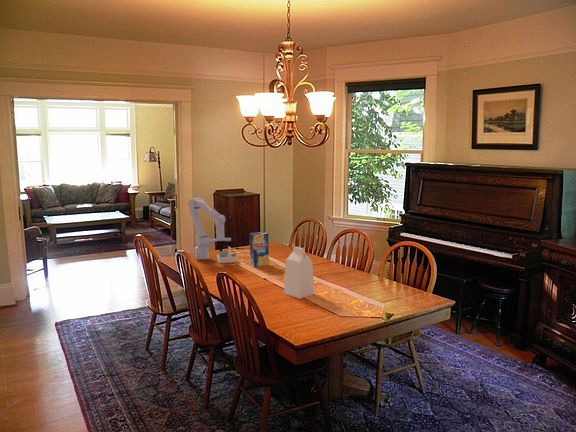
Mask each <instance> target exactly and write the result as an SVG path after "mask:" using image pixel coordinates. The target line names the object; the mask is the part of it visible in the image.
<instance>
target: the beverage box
mask: <svg viewBox="0 0 576 432" xmlns="http://www.w3.org/2000/svg"><path fill="white" fill-rule="evenodd" d="M269 254H270V253H269V233H268V232H266V231H260V232H259V231H257V232H250V233H249V265H250V266H251V267H253V268H257V267H263V266H269V264H270V263H269V262H270V261H269V260H270V259H269V258H270V257H269Z"/></svg>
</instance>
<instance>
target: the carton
mask: <svg viewBox="0 0 576 432" xmlns="http://www.w3.org/2000/svg"><path fill="white" fill-rule="evenodd" d="M216 260H217V262H218V264H229V263H237V255H235V254H234V253H228V256H227V257H219V254H216Z"/></svg>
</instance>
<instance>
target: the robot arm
mask: <svg viewBox="0 0 576 432" xmlns="http://www.w3.org/2000/svg"><path fill="white" fill-rule="evenodd" d="M187 205H188V208H189V212H190V216H191V220H192V223H193V226H194V230H195V232H196V235H195V236H194V239H195V241H194V242H195V245H196V246H195V247H194V258H195V260H196V261H199V260H200V261H201V260H210V257H209V245H210V243H216V244H217V246H218V249H219V250H218V251H219V253H220V252H223V248H224V246H225V243H226V242H232V237H225V223H226V220H227V219H226V215H224V214H220V212H218V211H217V210H216V209H215V208H211V207H210V206H209V205H208V204H207V203H206V202H205V199H203V197H196V198H195V197H194V198H190V199H189V200H188V203H187ZM200 209H203V210H204V211H205V212H207V214H208V215H207V216H209V217H210V218H211V219H212V220H213V222H214V224H215V225H214V226H215V234H216V236H215V237H216V238H210V237H209V235H208V233H206V232H205V230H204V228H203V227H204V226H203V223H202V220H201V217H200V214H199V211H200Z"/></svg>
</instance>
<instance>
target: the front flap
mask: <svg viewBox="0 0 576 432" xmlns="http://www.w3.org/2000/svg"><path fill="white" fill-rule="evenodd" d="M228 254H229V250H226V251H225V250H224V251H223V250H222V252H220V251H219V254H218V255H219V257H227V256H228Z"/></svg>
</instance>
